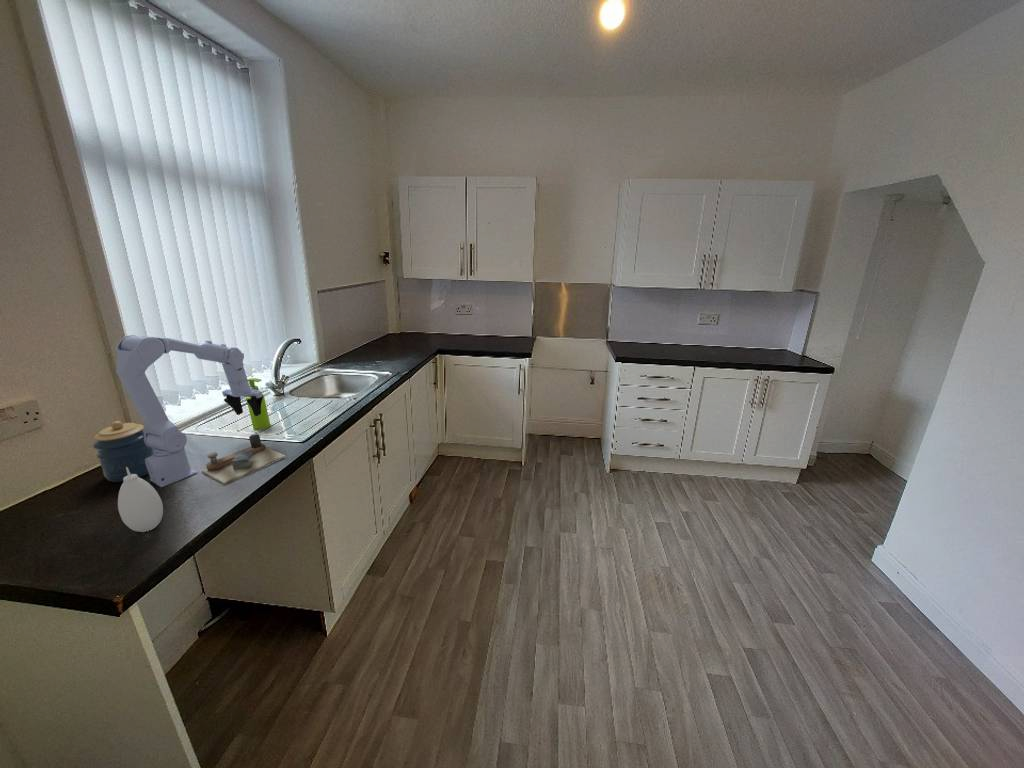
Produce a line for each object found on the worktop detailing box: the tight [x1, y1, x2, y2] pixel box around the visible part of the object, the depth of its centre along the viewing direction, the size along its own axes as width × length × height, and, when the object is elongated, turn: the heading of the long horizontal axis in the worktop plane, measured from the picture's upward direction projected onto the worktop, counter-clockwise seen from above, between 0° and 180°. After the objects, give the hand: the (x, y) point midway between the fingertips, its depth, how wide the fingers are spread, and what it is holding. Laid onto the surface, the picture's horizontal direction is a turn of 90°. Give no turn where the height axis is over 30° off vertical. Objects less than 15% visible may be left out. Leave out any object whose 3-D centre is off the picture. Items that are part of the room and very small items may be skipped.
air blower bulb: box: [117, 467, 164, 533], centre depth 99 cm, size 8×8×18 cm
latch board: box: [201, 446, 287, 485], centre depth 132 cm, size 19×14×1 cm
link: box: [205, 433, 266, 470], centre depth 133 cm, size 17×4×5 cm, turn 149°
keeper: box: [231, 450, 254, 470], centre depth 130 cm, size 6×4×4 cm
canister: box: [92, 420, 153, 483], centre depth 126 cm, size 13×13×18 cm
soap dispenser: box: [245, 377, 271, 431], centre depth 157 cm, size 6×7×20 cm
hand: (249, 414), depth 147 cm, fingers open, 7 cm apart
